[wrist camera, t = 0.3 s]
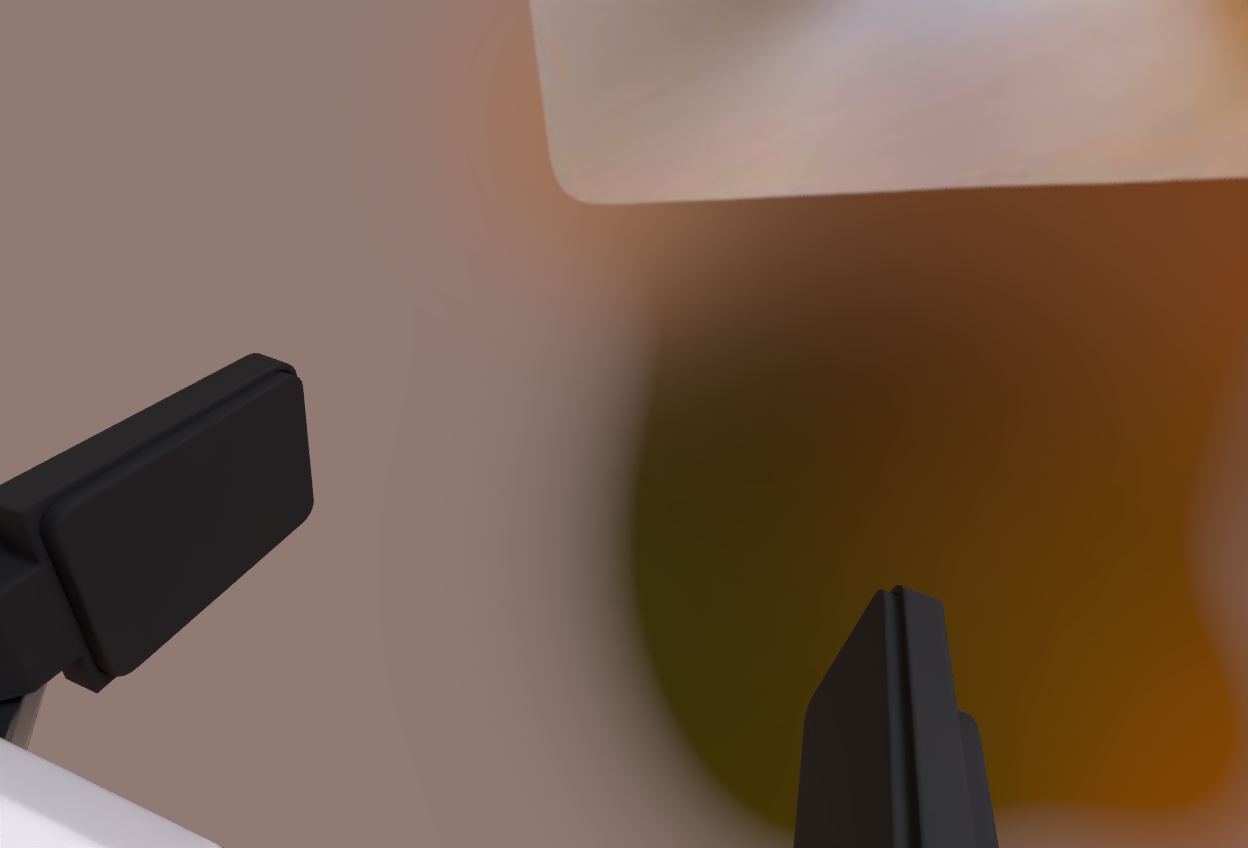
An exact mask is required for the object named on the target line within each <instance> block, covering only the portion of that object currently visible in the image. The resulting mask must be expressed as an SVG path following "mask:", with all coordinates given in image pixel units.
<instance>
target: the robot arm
mask: <svg viewBox="0 0 1248 848" xmlns="http://www.w3.org/2000/svg"><path fill="white" fill-rule="evenodd" d="M306 425H307V424H306V414H305V403H304V392H303V385H302V381H301V380H300V378H298V377H297V374H296V371H295V369H294V368H293V366H291V365H289V364H287V363H284V362H282V361H279V360H276V359H273V358H271V357H268V356H265V355H262V354H259V353H258V354H257V353H253V354H250V355H247V356H245V357H243V358H241V359H239V360H238V361H236V362H234V363H232V364H230V365H228V366H226V367H224V368H222V369H220V370H218V371H217V372H215V373H213V374H211V375H209V376H207V377H205V378H203V379H201V380H199V381H197V382H196V383H194V384H192V385H190V386H188V387H186V388H184V389H182V390H180V391H179V392H176V393H175V394H173V395H171V396H169V397H167V398H165V399H163V400H161V401H159V402H157V403H156V404H154V405H152V406H150V407H148V408H146V409H144V410H142V411H140V412H138V413H137V414H135V415H133V416H131V417H129V418H127V419H125V420H123V421H121V422H119V423H117V424H115V425H114V426H112V427H110V428H108V429H106V430H104V431H102V432H100V433H98V434H96V435H94V436H93V437H91V438H89V439H87V440H85V441H83V442H81V443H80V444H77V445H75V446H74V447H72V448H70V449H68V450H66V451H64V452H62V453H60V454H58V455H56V456H55V457H53V458H51V459H49V460H47V461H45V462H43V463H41V464H39V465H37V466H35V467H33V468H32V469H30V470H28V471H26V472H24V473H22V474H20V475H18V476H16V477H14V478H13V479H11V480H9V481H7V482H5V483H3V484H1V485H0V848H223V847H221V846H219V845H217V844H215V843H213V842H211V841H209V840H207V839H205V838H203V837H201V836H199V835H197V834H195V833H193V832H191V831H189V830H187V829H185V828H183V827H181V826H179V825H177V824H175V823H173V822H171V821H169V820H167V819H165V818H163V817H161V816H159V815H157V814H155V813H153V812H151V811H149V810H147V809H145V808H143V807H141V806H139V805H137V804H135V803H133V802H131V801H128V800H127V799H125V798H122V797H120V796H118V795H116V794H114V793H112V792H110V791H108V790H106V789H104V788H102V787H100V786H98V785H96V784H94V783H92V782H90V781H88V780H86V779H84V778H82V777H80V776H78V775H76V774H74V773H71V772H70V771H68V770H65V769H63V768H61V767H59V766H57V765H55V764H53V763H51V762H49V761H47V760H45V759H43V758H41V757H39V756H37V755H35V754H33V753H31V752H29V751H27V748H28V745H29V741H30V738H31V735H32V732H33V728H34V725H35V722H36V718H37V715H38V712H39V708H40V705H41V701H42V698H43V695H44V691H45V688H46V685H47V682H48V681H50V680H51V679H52V678H53V677H54V676H56V675H57V674H58V673H60V672H61V671H63V673H64V675H65V678H66V679H68V680H70V681H72V682H74V683H77V684H78V685H80V686H83V687H85V688H87V689H89V690H91V691H93V692H95V693H98V692H99V691H101V690H102V689H103V688H104V687H105V686H106V685H107V684H109V683H110V682H111V681H112V680H113V679H114V678H116V677H117V676H124V675H126V674H128V673H131V672H132V671H133V670H135V669H136V668H137V667H139V666H140V665H141V664H142V663H143V662H144V661H145V660H146V659H148V658H149V657H150V656H151V655H152V654H153V653H155V652H156V651H157V650H158V649H159V648H160V647H161V646H162V645H164V644H165V643H166V642H167V641H168V640H169V639H171V638H172V637H173V636H174V635H175V634H176V633H177V632H179V631H180V630H181V629H182V628H183V627H184V626H185V625H187V624H188V623H189V622H190V621H191V620H192V619H193V618H194V617H196V616H197V615H198V614H199V613H200V612H201V611H203V610H204V609H205V608H206V607H207V606H208V605H209V604H211V603H212V602H213V601H214V600H215V599H216V598H217V597H218V596H220V595H221V594H222V593H223V592H224V591H225V590H227V589H228V588H229V587H230V586H231V585H232V584H233V583H235V582H236V581H237V580H238V579H239V578H240V577H241V576H242V575H243V574H245V573H246V572H247V571H248V570H249V569H251V568H252V567H253V566H254V565H255V564H256V563H257V562H259V561H260V560H261V559H262V558H263V557H264V556H265V555H266V554H268V553H269V552H270V551H271V550H272V549H273V548H274V547H276V546H277V545H278V544H279V543H280V542H281V541H282V540H284V539H285V538H286V537H287V536H288V535H289V534H291V532H292V531H294V530H295V529H296V528H297V527H299V526H300V525H301V524H302V523H303V522H304V521H305V520H306V519H307V517H308V516H309V514H310V512H311V510H312V507H313V503H314V499H313V488H312V477H311V467H310V457H309V446H308V435H307V426H306ZM794 848H999V846H998V840H997V834H996V829H995V823H994V816H993V810H992V804H991V798H990V792H989V786H988V780H987V774H986V768H985V763H984V756H983V750H982V745H981V738H980V733H979V730H978V726H977V723H976V722H975V720H974V719H973V717H972V716H971V715H969V714H967V713H965V712H962V711H960V710H958V709H957V704H956V696H955V689H954V682H953V674H952V667H951V660H950V652H949V645H948V638H947V631H946V624H945V616H944V610H943V605H942V602H941V601H940V600H939V599H937V598H934V597H931V596H928V595H925V594H923V593H920V592H917V591H914V590H912V589H909V588H906V587H903V586H900V585H897V586H895V587H894V588H893V589H892V590H891V592H890V593H889V592H886V591H884V590H879V591H877V592H876V594H875V595H874V596H873V598H872V600H871V601H870V603H869V605H868V606H867V608H866V610H865V611H864V613H863V615H862V616H861V618H860V620H859V621H858V623H857V624H856V626H855V628H854V629H853V631H852V633H851V634H850V636H849V637H848V639H847V641H846V642H845V644H844V646H843V647H842V649H841V650H840V652H839V654H838V655H837V657H836V659H835V660H834V662H833V664H832V665H831V667H830V668H829V670H828V672H827V673H826V675H825V677H824V678H823V680H822V682H821V683H820V685H819V686H818V688H817V690H816V691H815V693H814V695H813V696H812V698H811V700H810V703H809V705H808V708H807V712H806V716H805V722H804V733H803V743H802V755H801V767H800V779H799V790H798V802H797V814H796V825H795V837H794Z"/></svg>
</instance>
